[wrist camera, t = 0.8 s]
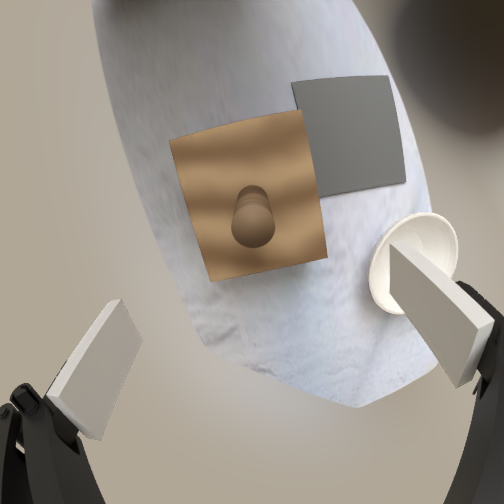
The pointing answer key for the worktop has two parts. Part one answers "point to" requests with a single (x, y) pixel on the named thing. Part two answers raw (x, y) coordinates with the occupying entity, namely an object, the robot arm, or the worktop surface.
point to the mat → (351, 132)
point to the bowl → (420, 238)
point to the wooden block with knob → (252, 195)
